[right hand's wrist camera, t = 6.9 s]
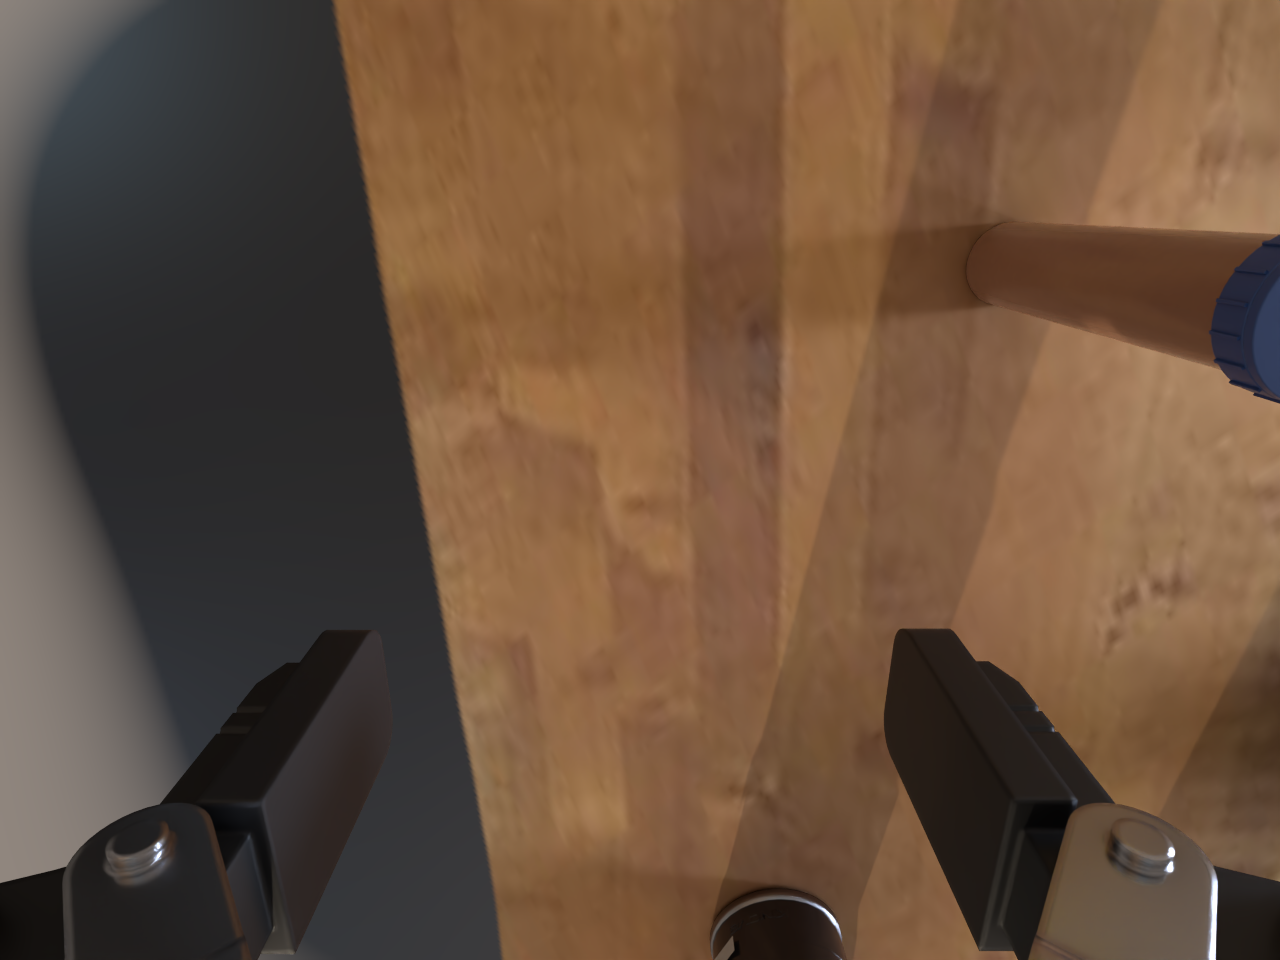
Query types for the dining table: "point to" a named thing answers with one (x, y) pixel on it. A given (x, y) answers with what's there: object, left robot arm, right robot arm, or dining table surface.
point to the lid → (1251, 323)
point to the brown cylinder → (1113, 279)
